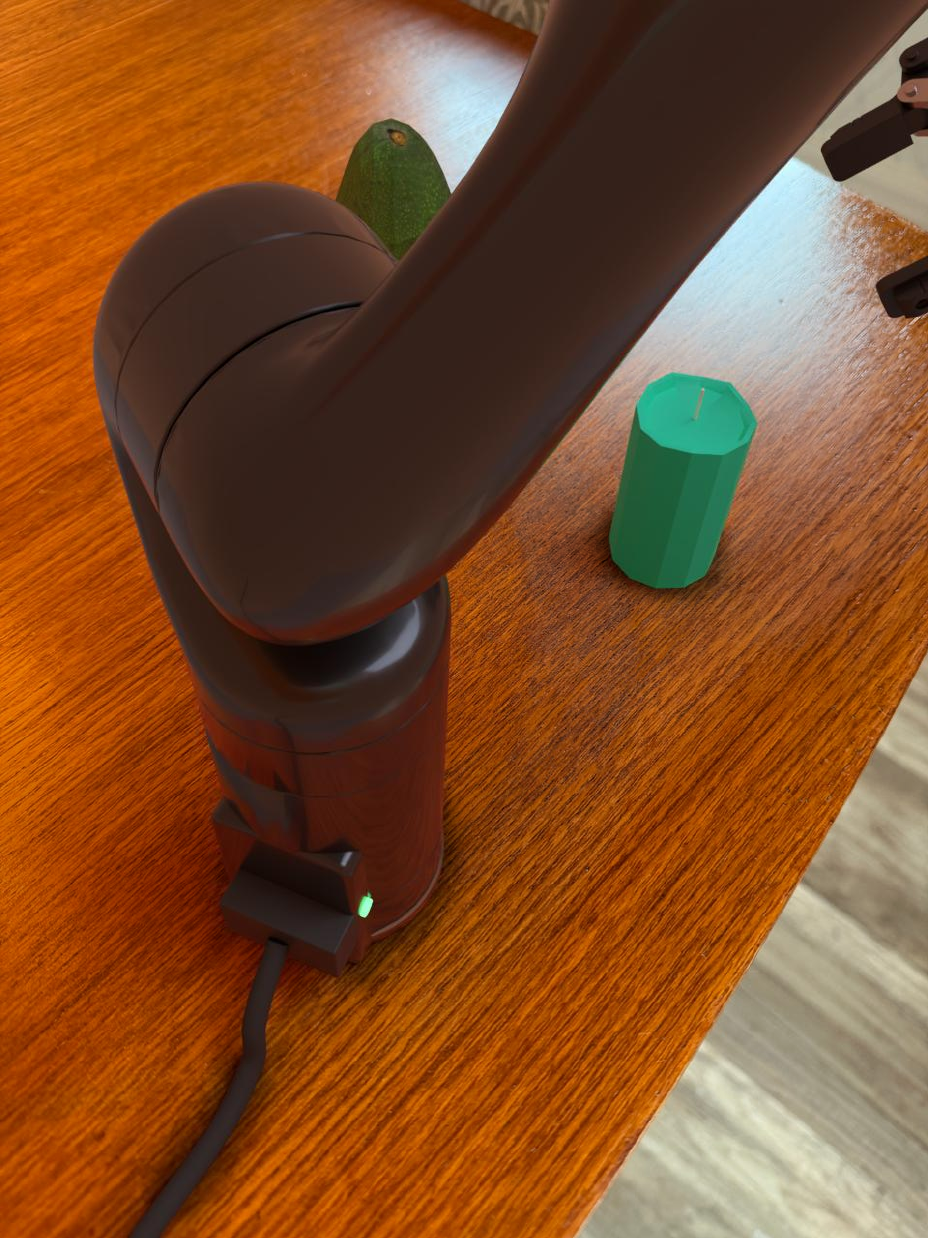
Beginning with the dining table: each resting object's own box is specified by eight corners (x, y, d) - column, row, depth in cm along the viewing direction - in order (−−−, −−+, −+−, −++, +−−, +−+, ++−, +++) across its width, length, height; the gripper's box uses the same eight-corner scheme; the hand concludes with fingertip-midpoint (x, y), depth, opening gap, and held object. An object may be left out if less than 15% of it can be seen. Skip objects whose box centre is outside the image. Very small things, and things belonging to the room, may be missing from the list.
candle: (710, 598, 66) (761, 443, 56) (601, 578, 66) (634, 421, 56) (718, 517, 69) (768, 358, 59) (615, 499, 70) (648, 338, 60)
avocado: (333, 326, 78) (322, 159, 68) (339, 250, 82) (330, 84, 73) (456, 329, 78) (462, 163, 68) (456, 253, 83) (461, 87, 73)
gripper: (1169, -158, 48) (783, 70, 54) (1344, 79, 41) (878, 305, 48) (1183, -17, 53) (833, 173, 60) (1339, 211, 47) (924, 395, 53)
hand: (853, 231), depth 54 cm, fingers open, 8 cm apart
